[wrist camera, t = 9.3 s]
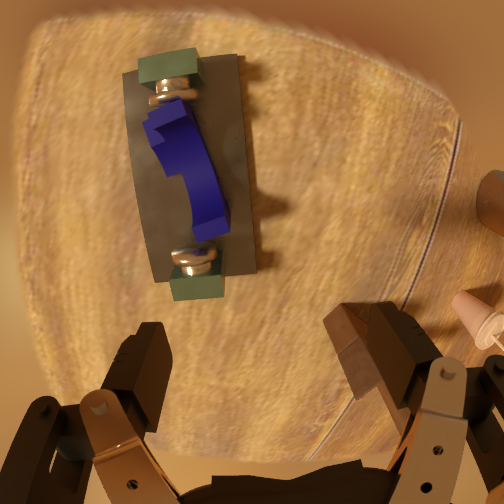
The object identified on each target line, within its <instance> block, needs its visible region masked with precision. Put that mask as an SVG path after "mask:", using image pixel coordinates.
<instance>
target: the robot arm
mask: <svg viewBox="0 0 504 504" xmlns="http://www.w3.org/2000/svg"><path fill="white" fill-rule="evenodd" d="M477 213H478V217H479V219H480V222H481V223H482V224H483V225H484V226H485V227H487V228H489V229H491V230H492V231H494V232H496V233H498V234H500V235H501V236H503V237H504V172H503V171H499V170H492V171H491V172H489V173H488V174H487V175H486V176H485V177H484V179H483V181H482V183H481V185H480V188H479V191H478V196H477ZM366 344H367V348H368V351H369V353H370V355H371V356H372V358H373V360H374V362H375V364H376V366H377V368H378V370H379V372H380V374H381V377H382V379H383V381H384V383H385V385H386V387H387V389H388V391H389V393H390V395H391V397H392V399H393V401H394V404H395V406H396V408H397V410H399V409H403V408H406V407H408V408H409V410H410V413H409V415H408V418H407V421H406V424H405V427H404V429H403V432H402V435H401V438H400V440H399V443H398V446H397V448H396V451H395V453H394V455H393V458H392V460H391V461H390V463H389V465H388V467H387V469H386V470H383V469H378V468H370V467H369V468H368V467H363V466H362V462H361V459H359V460H355V461H351V462H346V463H342V464H337V465H332V466H327V467H324V468H321V469H319V470H316V471H314V472H311V473H308V474H306V475H303V476H300V477H297V478H295V479H291V480H280V479H271V478H264V477H256V476H250V475H240V476H212V483H211V484H209V485H204V486H201V487H198V488H195V489H193V490H190V491H188V492H187V493H185V494H183V495H181V494H180V493H179V491H178V490H177V489H176V487H175V486H174V485H173V484H172V482H171V481H170V480H169V478H168V477H167V475H166V474H165V472H164V471H163V469H162V468H161V467H160V465H159V463H158V462H157V461H156V459H155V457H154V456H153V454H152V452H151V451H150V449H149V448H148V446H147V444H146V443H145V441H144V436H145V432H153V433H156V431H157V427H158V423H159V418H160V414H161V410H162V406H163V401H164V397H165V393H166V389H167V385H168V381H169V377H170V373H171V369H172V363H173V360H172V352H171V349H170V346H169V343H168V339H167V336H166V333H165V329H164V326H163V324H162V322H142V323H141V325H140V327H139V329H138V331H137V333H136V335H130V336H129V337H128V338H127V339H126V340H125V341H124V342H123V343H122V344H121V346H120V348H119V350H118V352H117V354H116V356H115V358H114V362H112V365H111V367H110V369H109V371H108V373H107V375H106V377H105V379H104V382H103V384H102V386H101V388H100V389H98V390H94V391H92V392H90V393H88V394H87V395H86V396H85V397H84V398H83V399H82V401H81V403H80V404H75V405H67V406H61V405H60V404H59V402H58V401H57V400H56V399H55V398H54V397H52V396H42V397H39V398H38V399H36V400H35V401H33V402H32V403H31V405H30V406H29V408H28V410H27V413H26V414H25V416H24V418H23V420H22V422H21V424H20V427H19V429H18V431H17V433H16V435H15V438H14V440H13V442H12V444H11V447H10V449H9V452H8V454H7V457H6V459H5V461H4V464H3V466H2V469H1V472H0V504H84V499H85V494H86V490H87V485H88V480H89V477H90V473H91V469H92V465H93V464H94V467H95V469H96V471H97V474H98V476H99V478H100V480H101V482H102V485H103V487H104V489H105V491H106V493H107V495H108V497H109V499H110V501H111V503H112V504H452V503H450V501H451V497H452V494H453V491H454V487H455V483H456V480H457V476H458V472H459V468H460V464H461V460H462V455H463V450H464V445H465V439H466V440H467V442H468V445H469V447H470V449H471V451H472V453H473V456H474V458H475V460H476V463H477V465H478V467H479V470H480V473H481V475H482V478H483V480H484V483H485V485H486V488H487V491H488V493H489V494H488V496H487V499H486V504H504V432H503V430H502V428H501V426H500V424H499V423H498V421H497V419H496V417H495V415H494V414H493V412H492V410H493V409H494V407H495V406H496V408H497V409H498V411H499V413H500V414H501V416H502V418H503V419H504V356H502V355H491V356H489V357H488V358H487V359H486V361H485V363H484V365H483V367H474V368H465V366H464V365H463V364H462V363H461V362H460V361H459V360H457V359H455V358H452V357H443V355H442V354H441V353H440V351H439V350H438V349H437V347H436V346H435V345H434V343H433V342H432V341H431V339H430V338H429V337H428V335H427V334H425V332H424V330H423V329H422V328H420V325H419V324H418V323H417V321H416V320H415V319H414V318H413V317H412V316H410V315H409V314H407V313H405V312H404V311H403V312H400V311H399V310H398V309H397V307H396V306H395V305H394V303H393V302H392V301H387V302H381V303H374V304H372V306H371V309H370V316H369V322H368V328H367V334H366ZM55 449H56V450H57V454H56V457H55V460H54V463H53V466H52V469H51V472H49V468H50V464H51V461H52V458H53V455H54V452H55Z"/></svg>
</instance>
